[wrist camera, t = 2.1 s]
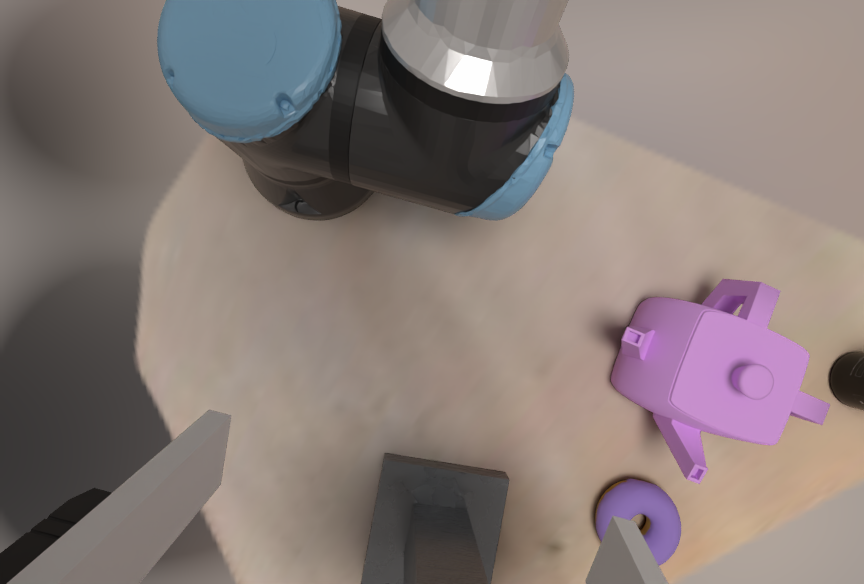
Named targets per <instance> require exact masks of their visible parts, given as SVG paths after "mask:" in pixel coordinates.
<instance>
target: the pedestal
mask: <svg viewBox="0 0 864 584" xmlns="http://www.w3.org/2000/svg"><path fill="white" fill-rule="evenodd" d="M508 484H509V478H508V477H507V475H506V473H505V472H501V471H494V470H488V469H482V468H476V467H469V466H463V465H457V464H451V463H444V462H438V461H432V460H426V459H419V458H413V457H407V456H401V455H394V454H388V453H385V455H384V461H383V466H382V472H381V477H380V482H379V488H378V493H377V499H376V504H375V510H374V515H373V521H372V526H371V531H370V537H369V542H368V548H367V553H366V559H365V564H364V570H363V575H362V581H361V584H491V579H492V573H493V568H494V562H495V556H496V551H497V545H498V540H499V534H500V529H501V523H502V517H503V512H504V506H505V501H506V495H507V490H508Z"/></svg>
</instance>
